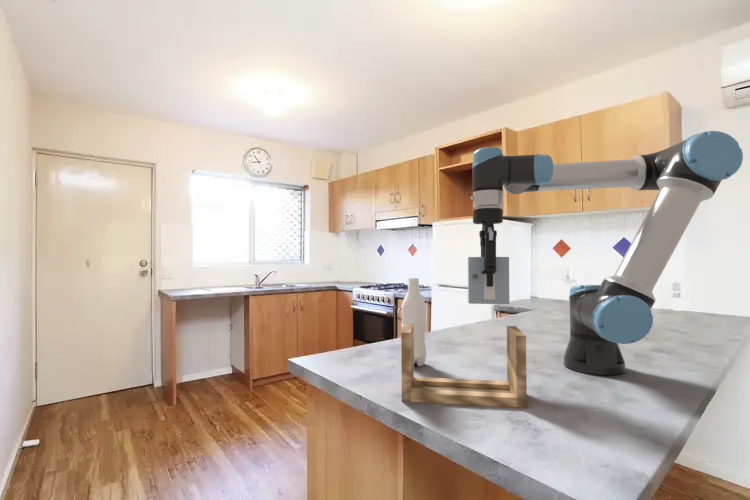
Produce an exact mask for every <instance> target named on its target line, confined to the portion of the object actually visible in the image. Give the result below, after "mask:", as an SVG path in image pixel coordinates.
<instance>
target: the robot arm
mask: <svg viewBox="0 0 750 500" xmlns="http://www.w3.org/2000/svg"><path fill="white" fill-rule="evenodd" d="M743 158H744V153H743V149H742V148H741V146H740V144H739V142H738V141H737V139H736V138H734V137H733V136H732V135H730V134H728V133H726V132H723V131H719V130H707V131H703V132H701V133H696V134H693V135H690V136H689V137H688V138H686V139H684V140H682V141H680V142H678V143H676V144H674V145H671V146H669V147H667V148H665V149H662V150H659V151H656V152H653V153H648V154H638V155H637V154H636V155H635V156H633V157H632V158H631V159H615V160H600V161H599V160H598V161H597V160H595V161H582V162H581V161H579V162H564V163H562V162H561V163H554V162H553V159H552V156H551V155H549V154H538V153H536V154H523V155H522V154H521V155H520V154H519V155H504V154H503V149H502V148H501V147H496V146H495V147H493V146H486V147H481V148H478V149H476V150H474V152H473V154H472V168H471V169H472V172H471V173H472V195H471V196H470V200H471V201H472V200H473V201H472V207H473V208H474V209H473V211H472V223H473V224H474V225H481V230H479V232H478V233H479V235H478V236H479V239H480V241H479V242H480V243H479V245H480V257H484V271H482V274H484V299H489V300H495V271H496V257H497V235H498V234H497V233H498V231H497V230H496V229H495V225H497V224H498V225H499V224H502V223H503V222H504V210H503V208H502V207H503V206H504V190H505V191H506V192H507V193H509V194H511V195H519V194H522V193H532V192H546V191H548V192H549V191H566V190H567V191H570V190H572V191H573V190H590V189H591V190H595V189H597V190H598V189H615V188H617V189H618V188H620V189H621V188H630V189H631V190H633V191H658V193H657V195H656V197H655V198H654V200H653V202H652V204H651V206H650V208H649V210H648V211H647V214H646V215H645V217H644V219H643V221H642V223H641V225H640V226H639V228H638V230H637V232H636V234H635V235H634V237H633V240H632V241H631V243H630V245H629V247H628V248H627V251H626V253H625V254H624V256H623V258H622V260H621V261H620V264H619V265H618V268H617V269H616V271H615V272H614V274H613V275H611V276H608V277H605V278H604V279H603V280H602V282H601V284H585V285H582V284H581V285H579V284H578V285H574V286H573V285H572V286H571V287H570V290H569V296H568V299H569V341H568V342H567V346H566V349H565V352H564V354H563V366H564V367H566V368H567V369H570V370H573V371H577V372H579V373H584V374H590V375H597V376H618V375H623V374H624V373H626V362H625V359H624V357H623V353H622V351H621V349H620V346H619V344H620V345H629V344H633V343H637V342H639V341H641V340H643V339H644V338H645V337H646V336H647V335H648V334H649V333H650V332H651V330H652V328H653V324H654V316H653V313H652V308H653V306H654V304H655V303H656V297H655V295H654V293H653V290H654V288H655V286H656V284H657V282H658V281H659V279H660V277H661V276H662V273H663V272H664V270H665V267H666V266H667V265H668V262H669V261H670V259H671V257H672V256H673V254H674V252H675V250H676V248H677V247H678V244H679V242H680V241H681V239H682V237H683V235H684V233H685V231H686V229H687V228H688V226H689V224H690V223H691V221H692V218H693V217H694V215H695V214H696V211H697V209H698V208H699V206H700V204H701V203H702V202H704V201H707V200H710V199H712V198H713V197H714V195H715V193H716V192H717V190H718V188H719V187H720V184H721V182H722V181H724V180H727V179H729V178H731V177H732V176H733V175H735V174H737V172H738V171H739V169H740V168H741V167H742V164H743V160H744V159H743Z"/></svg>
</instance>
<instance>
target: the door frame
mask: <svg viewBox="0 0 750 500" xmlns="http://www.w3.org/2000/svg"><path fill="white" fill-rule="evenodd" d="M400 336H401V402H406V403H407V402H408V403H422V404H423V403H424V404H425V403H427V404H441V405H442V404H445V405H461V406H462V405H465V406H481V407H500V408H501V407H502V408H503V407H504V408H515V409H516V408H519V409H520V408H521V409H527V407H528V406H527V403H528V402H527V401H528V400H527V399H528V398H527V393H528V392H527V390H528V389H527V335H526V334H525V333H524V332H522V330H520V328H518V327H517V325H506V374H507V375H506V379H507V380H493V379H492V380H491V379H470V378H469V379H468V378H467V379H466V378H465V379H464V378H444V377H442V378H441V377H425V376H424V377H423V376H422V377H421V376H415V368H414V365H415V364H414V324H405V326H404V328H403V330H402V329H401V335H400Z"/></svg>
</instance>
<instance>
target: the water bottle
mask: <svg viewBox="0 0 750 500" xmlns="http://www.w3.org/2000/svg"><path fill="white" fill-rule="evenodd" d="M419 280H420V279H419V278H418V277H417V278H416V277H411V278H408V284H407V292H406V295H405V296H404V298H403V301H402V303H401V307H400V308H401V331H402V330H403V328H404V326H405V324H414V365H415V364H416V366H417V367H419V368H420V367H423V365H424V364H425V361H426V359H427V348H426V341H425V340H426V339H425V338H426V337H425V335H426V330H427V329H426V328H427V319H426V315H427V312H426V311H427V304H426V301H425V300H424V298H423V296H422V294H421V292H420V287H421V286H420V282H419Z"/></svg>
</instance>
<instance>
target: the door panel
mask: <svg viewBox="0 0 750 500" xmlns="http://www.w3.org/2000/svg"><path fill="white" fill-rule="evenodd" d="M482 271H484V257H481V256H467V303H468V304H470V305H473V304H475V305H480V304H481V305H510V256H496V271H495V300H489V299H484V274H482Z"/></svg>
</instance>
